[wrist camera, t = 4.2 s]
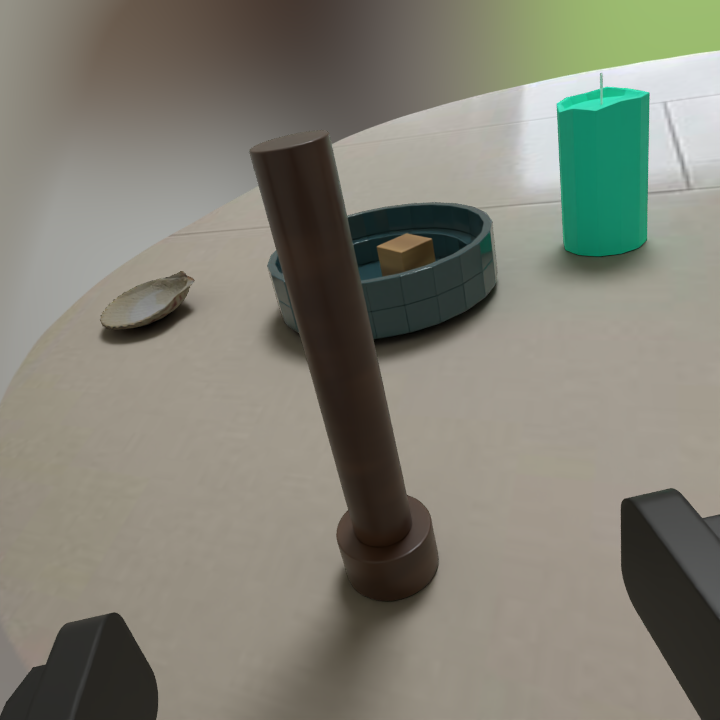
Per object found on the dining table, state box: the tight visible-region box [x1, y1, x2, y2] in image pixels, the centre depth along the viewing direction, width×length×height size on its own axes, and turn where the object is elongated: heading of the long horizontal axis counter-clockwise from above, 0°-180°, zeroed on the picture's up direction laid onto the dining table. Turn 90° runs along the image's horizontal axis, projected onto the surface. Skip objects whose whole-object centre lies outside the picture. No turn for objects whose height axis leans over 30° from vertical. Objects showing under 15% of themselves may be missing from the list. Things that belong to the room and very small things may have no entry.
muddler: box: [249, 130, 438, 601], centre depth 20 cm, size 4×4×16 cm
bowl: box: [267, 202, 498, 339], centre depth 46 cm, size 16×16×4 cm
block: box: [377, 233, 435, 277], centre depth 47 cm, size 3×3×3 cm
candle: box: [557, 73, 649, 256], centre depth 45 cm, size 6×6×12 cm
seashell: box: [100, 271, 194, 330], centre depth 53 cm, size 8×3×8 cm
